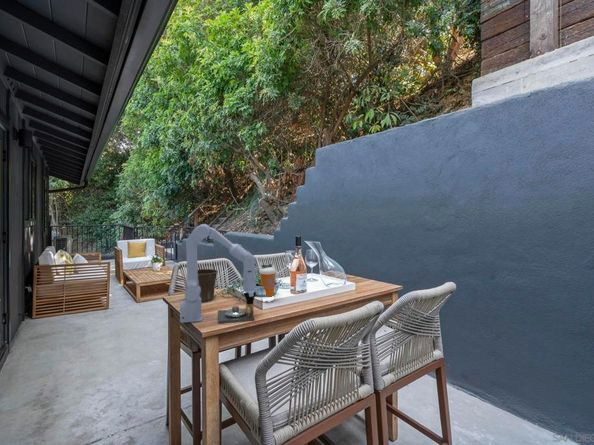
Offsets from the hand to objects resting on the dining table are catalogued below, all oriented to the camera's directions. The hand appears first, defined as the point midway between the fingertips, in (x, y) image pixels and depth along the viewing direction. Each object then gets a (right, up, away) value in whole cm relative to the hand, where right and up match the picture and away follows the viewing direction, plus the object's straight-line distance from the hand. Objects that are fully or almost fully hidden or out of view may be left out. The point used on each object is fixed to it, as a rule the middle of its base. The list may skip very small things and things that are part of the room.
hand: (250, 307), depth 154 cm
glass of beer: (+6, -3, +25) cm, 26 cm away
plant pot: (-31, -3, +28) cm, 42 cm away
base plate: (-7, -4, -2) cm, 8 cm away
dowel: (0, -3, -5) cm, 6 cm away
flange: (-5, -2, -2) cm, 6 cm away
